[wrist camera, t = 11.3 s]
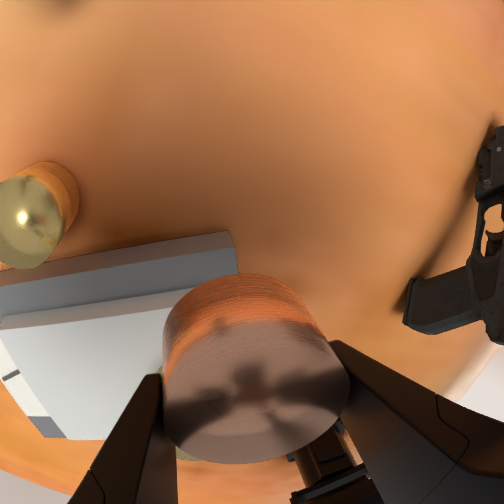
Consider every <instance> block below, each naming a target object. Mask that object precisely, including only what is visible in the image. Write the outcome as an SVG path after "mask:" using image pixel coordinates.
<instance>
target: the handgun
mask: <svg viewBox="0 0 504 504" xmlns="http://www.w3.org/2000/svg"><path fill="white" fill-rule="evenodd" d="M478 165H479V166H480V167H481V169H482V170H483V171H479V174H478V179H479V182H477V183H476V189H475V198H476V200H477V202H479V206H478V214H477V223H476V231H475V238H474V243H473V248H472V252H471V255H470V256H469V258H468V259H467V261H466V266H463V267H460V268H458V269H455V270H452V271H449V272H447V273H444V274H441V275H438V276H435V277H432V278H428V279H424V278H422V277H420V278H417V280H415V279H414V278H411V279H410V280H409V286H408V293H407V299H406V304H405V310H404V315H403V321H402V323H403V324H404V325H406V326H409V327H410V328H411V329H413V330H416V331H418V332H421V333H424V334H427V335H436V334H440V333H443V332H446V331H449V330H452V329H455V328H458V327H461V326H464V325H467V324H470V323H473V322H476V321H479V320H483V321H484V322H485V324H486V333H487V334H488V336H489V338H490V340H491V341H492V342H494V343H496V344H499V345H504V230H503V231H502V232H499V233H491V232H488V231H487V230H486V232H485V233H486V235H487V236H488V241H487V245H486V252H485V256H484V257H483V255H482V253H481V239H482V235H483V231H484V227H485V219H484V214H485V212H486V211H487V209H488V208H490V207H492V206H494V205H497V204H502V211H501V218H502V220H503V222H504V126H500V127H497V128H496V135H494V136H493V137H492V139H491V142H490V143H488V144H487V148H485V149H480V150H479V153H478Z"/></svg>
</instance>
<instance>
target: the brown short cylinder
mask: <svg viewBox="0 0 504 504" xmlns="http://www.w3.org/2000/svg"><path fill="white" fill-rule="evenodd" d="M350 388H351V387H350V379H349V376H348V373H347V372H346V370H345V368H344V366H343V365H342V363H341V362H340V360H339V359H338V357H337V355H336V354H335V352H334V351H333V349H332V347H331V346H330V344H329V343H328V341H327V340H326V338H325V336H324V335H323V333H322V332H321V330H320V329H319V327H318V325H317V324H316V322H315V321H314V319H313V318H312V316H311V314H310V313H309V311H308V310H307V308H306V307H305V305H304V304H303V302H302V300H301V299H300V297H299V296H298V295H297V294H296V293H295V292H294V291H293V290H292V289H291V288H290V287H288V286H287V285H285V284H284V283H282V282H280V281H278V280H275V279H273V278H270V277H266V276H263V275H256V274H233V275H227V276H222V277H218V278H215V279H212V280H209V281H207V282H205V283H203V284H201V285H199V286H197V287H195V288H194V289H192V290H191V291H189V292H188V293H187V294H186V295H184V296H183V297H182V298H181V299H180V300H179V301H178V302H177V303H176V304H175V306H174V307H173V309H172V310H171V311H170V313H169V315H168V317H167V319H166V322H165V325H164V328H163V335H162V391H163V421H164V428H165V431H166V433H167V435H168V437H169V438H170V440H171V441H172V442H173V443H174V444H175V445H176V446H177V447H178V448H179V449H181V450H182V451H184V452H185V453H187V454H189V455H191V456H193V457H196V458H199V459H202V460H205V461H209V462H214V463H222V464H247V463H255V462H261V461H266V460H270V459H274V458H277V457H280V456H283V455H286V454H288V453H291V452H293V451H295V450H298V449H300V448H302V447H304V446H305V445H307V444H309V443H310V442H312V441H313V440H315V439H316V438H318V437H319V436H321V435H322V434H323V433H324V432H325V431H327V430H328V429H329V428H330V427H331V426H332V425H333V424H334V423H335V421H336V420H337V419H338V418H339V416H340V415H341V413H342V412H343V410H344V409H345V406H346V404H347V401H348V397H349V392H350Z"/></svg>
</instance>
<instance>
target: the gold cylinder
mask: <svg viewBox="0 0 504 504" xmlns="http://www.w3.org/2000/svg"><path fill="white" fill-rule="evenodd" d="M79 205H80V194H79V189H78V186H77V183H76V181H75V179H74V177H73V176H72V175H71V173H70V172H69V171H68V170H67V169H66V168H64V167H63V166H61V165H59V164H57V163H54V162H49V161H43V162H38V163H35V164H33V165H31V166H30V167H28V168H26V169H24V170H22V171H20V172H19V173H17V174H15V175H13V176H11V177H10V178H8V179H6V180H4V181H3V182H1V183H0V261H2V262H3V263H5V264H6V265H8V266H11V267H13V268H17V269H31V268H35V267H37V266H39V265H41V264H42V263H43V262H45V261H46V260H47V259H48V257H49V256H50V255H51V253H52V252H53V250H54V249H55V247H56V246H57V244H58V243H59V241H60V240H61V238H62V237H63V235H64V234H65V232H66V231H67V229H68V228H69V226H70V225H71V224H72V222H73V221H74V219H75V217H76V216H77V213H78V210H79Z"/></svg>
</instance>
